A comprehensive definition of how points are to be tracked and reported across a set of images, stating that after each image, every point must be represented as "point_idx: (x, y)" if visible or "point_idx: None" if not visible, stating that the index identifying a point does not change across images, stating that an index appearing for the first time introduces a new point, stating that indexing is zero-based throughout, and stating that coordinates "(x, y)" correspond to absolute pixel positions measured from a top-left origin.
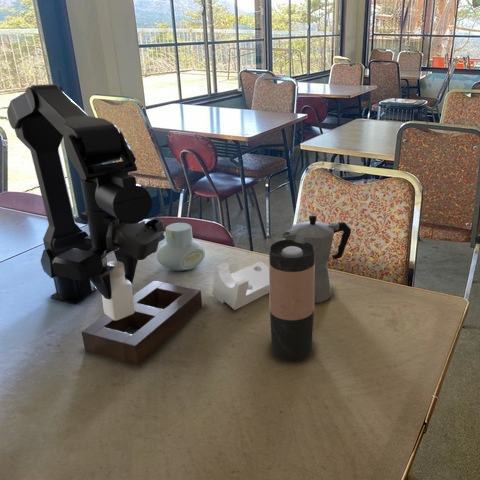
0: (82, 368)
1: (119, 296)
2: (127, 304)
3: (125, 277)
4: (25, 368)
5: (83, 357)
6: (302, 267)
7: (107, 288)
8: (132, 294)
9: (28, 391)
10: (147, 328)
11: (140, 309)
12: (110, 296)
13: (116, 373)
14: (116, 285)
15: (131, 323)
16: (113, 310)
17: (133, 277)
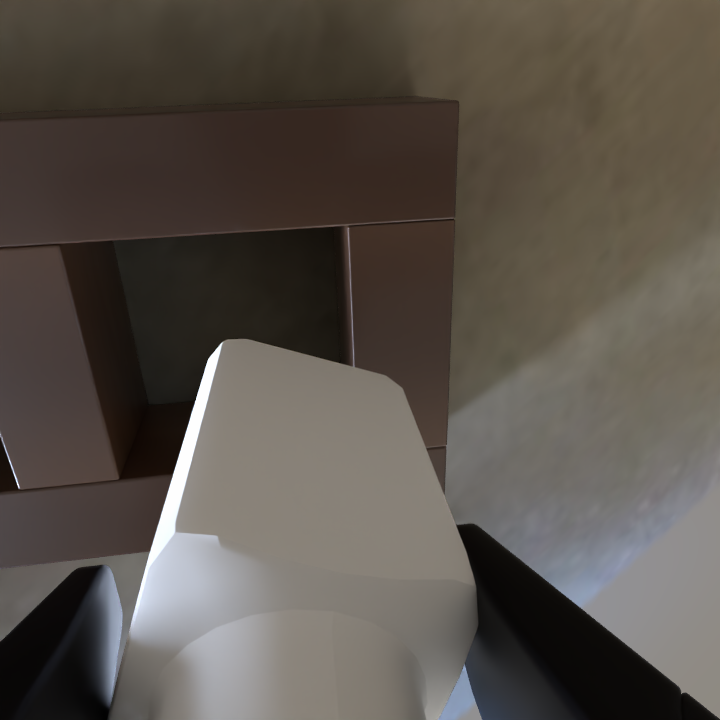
0: (527, 352)
1: (374, 488)
2: (290, 395)
3: (91, 706)
4: (586, 537)
5: (457, 411)
6: None
7: (608, 638)
8: (203, 433)
9: (704, 421)
10: (230, 180)
11: (62, 409)
12: (479, 541)
13: (513, 167)
14: (387, 630)
15: (140, 407)
16: (418, 432)
17: (10, 639)
